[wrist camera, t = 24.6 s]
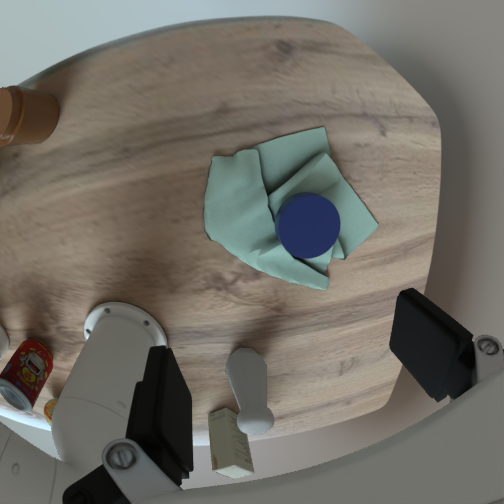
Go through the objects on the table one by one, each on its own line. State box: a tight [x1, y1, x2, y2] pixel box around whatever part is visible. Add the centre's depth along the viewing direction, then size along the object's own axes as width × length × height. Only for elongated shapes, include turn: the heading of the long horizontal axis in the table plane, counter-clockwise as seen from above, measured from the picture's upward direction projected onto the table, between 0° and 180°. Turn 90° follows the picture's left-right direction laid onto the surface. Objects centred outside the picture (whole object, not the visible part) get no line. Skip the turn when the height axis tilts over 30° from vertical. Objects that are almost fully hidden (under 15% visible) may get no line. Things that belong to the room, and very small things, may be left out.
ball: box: [44, 398, 58, 426], centre depth 35 cm, size 7×7×7 cm
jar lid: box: [274, 192, 341, 259], centre depth 29 cm, size 7×7×2 cm
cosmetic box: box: [208, 407, 254, 479], centre depth 38 cm, size 6×4×12 cm
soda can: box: [0, 338, 53, 412], centre depth 28 cm, size 7×7×12 cm
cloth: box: [203, 127, 378, 290], centre depth 31 cm, size 20×22×2 cm
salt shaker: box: [225, 348, 274, 435], centre depth 32 cm, size 6×6×13 cm
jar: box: [0, 86, 59, 147], centre depth 18 cm, size 7×7×9 cm
